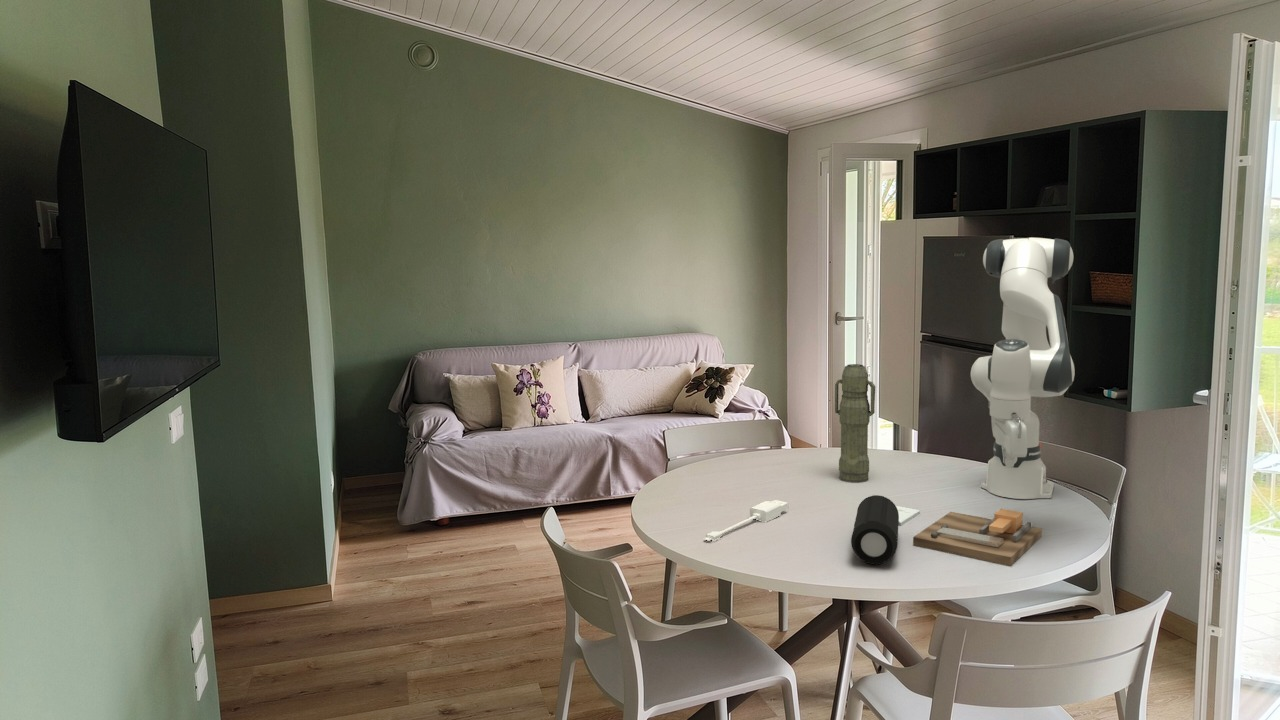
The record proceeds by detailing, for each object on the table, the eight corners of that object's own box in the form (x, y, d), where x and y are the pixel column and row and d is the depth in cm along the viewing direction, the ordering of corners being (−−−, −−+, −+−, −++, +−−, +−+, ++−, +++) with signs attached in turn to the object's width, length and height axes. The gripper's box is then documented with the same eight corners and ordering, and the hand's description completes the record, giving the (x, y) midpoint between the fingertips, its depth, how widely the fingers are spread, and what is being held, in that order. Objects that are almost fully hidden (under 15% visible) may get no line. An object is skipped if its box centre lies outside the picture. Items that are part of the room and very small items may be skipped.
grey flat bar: (942, 531, 201) (942, 527, 201) (1003, 542, 192) (1003, 538, 192) (936, 535, 198) (936, 531, 198) (997, 547, 189) (997, 543, 188)
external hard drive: (870, 522, 217) (890, 510, 226) (900, 528, 211) (919, 515, 221) (870, 516, 216) (890, 504, 226) (900, 522, 211) (919, 509, 221)
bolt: (1000, 524, 204) (1001, 508, 203) (1022, 528, 201) (1022, 512, 200) (984, 538, 195) (984, 521, 194) (1006, 542, 192) (1007, 525, 191)
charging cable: (698, 544, 204) (697, 531, 204) (774, 508, 227) (773, 496, 227) (714, 549, 201) (713, 536, 200) (789, 511, 224) (789, 499, 223)
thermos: (872, 484, 249) (874, 367, 244) (832, 480, 253) (833, 366, 249) (875, 476, 257) (877, 363, 253) (836, 473, 261) (837, 362, 257)
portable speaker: (857, 529, 210) (857, 491, 208) (898, 532, 207) (899, 493, 205) (850, 566, 186) (850, 523, 184) (896, 570, 182) (897, 526, 181)
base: (950, 519, 216) (950, 505, 215) (1041, 536, 201) (1042, 521, 201) (913, 545, 197) (913, 530, 197) (1010, 566, 183) (1011, 550, 183)
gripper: (1035, 419, 187) (1033, 478, 189) (1014, 399, 207) (1012, 453, 209) (1005, 419, 188) (1004, 478, 190) (987, 399, 208) (986, 453, 210)
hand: (1008, 465), depth 200 cm, fingers closed
